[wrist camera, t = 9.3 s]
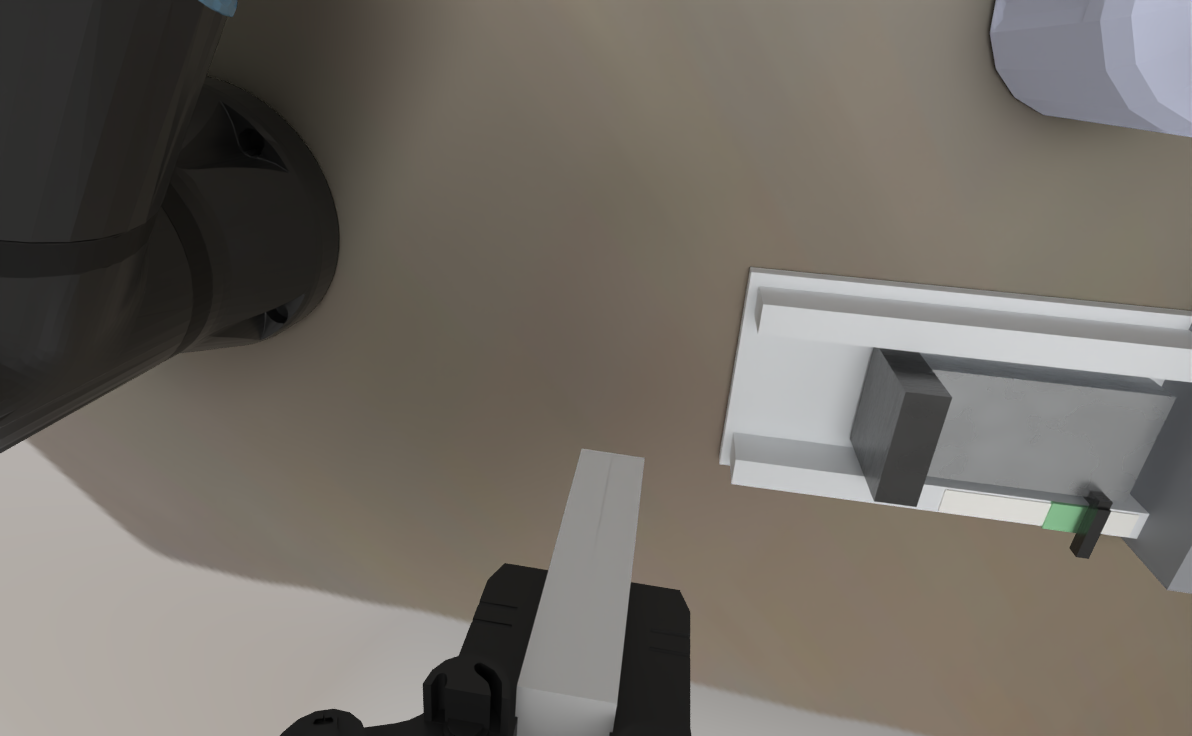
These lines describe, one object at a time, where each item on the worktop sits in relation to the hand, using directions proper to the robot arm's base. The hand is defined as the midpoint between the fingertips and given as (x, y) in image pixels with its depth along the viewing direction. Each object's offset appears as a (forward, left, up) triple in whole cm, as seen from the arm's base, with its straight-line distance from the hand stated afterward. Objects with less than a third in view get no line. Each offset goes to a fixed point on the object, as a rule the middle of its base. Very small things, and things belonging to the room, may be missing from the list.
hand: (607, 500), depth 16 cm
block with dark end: (+18, -8, -21) cm, 29 cm away
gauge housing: (+17, -6, -23) cm, 29 cm away
